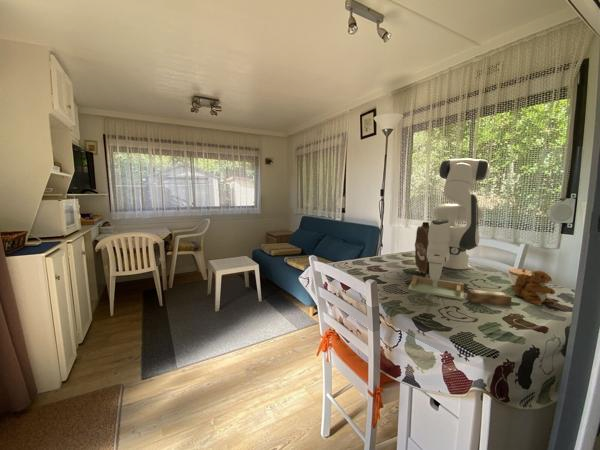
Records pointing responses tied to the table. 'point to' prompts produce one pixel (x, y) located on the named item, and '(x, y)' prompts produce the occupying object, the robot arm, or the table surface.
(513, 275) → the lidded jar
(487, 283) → the table surface
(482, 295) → the brown rectangular block
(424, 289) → the shallow tray
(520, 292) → the stuffed squirrel
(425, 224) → the decorative plaque
